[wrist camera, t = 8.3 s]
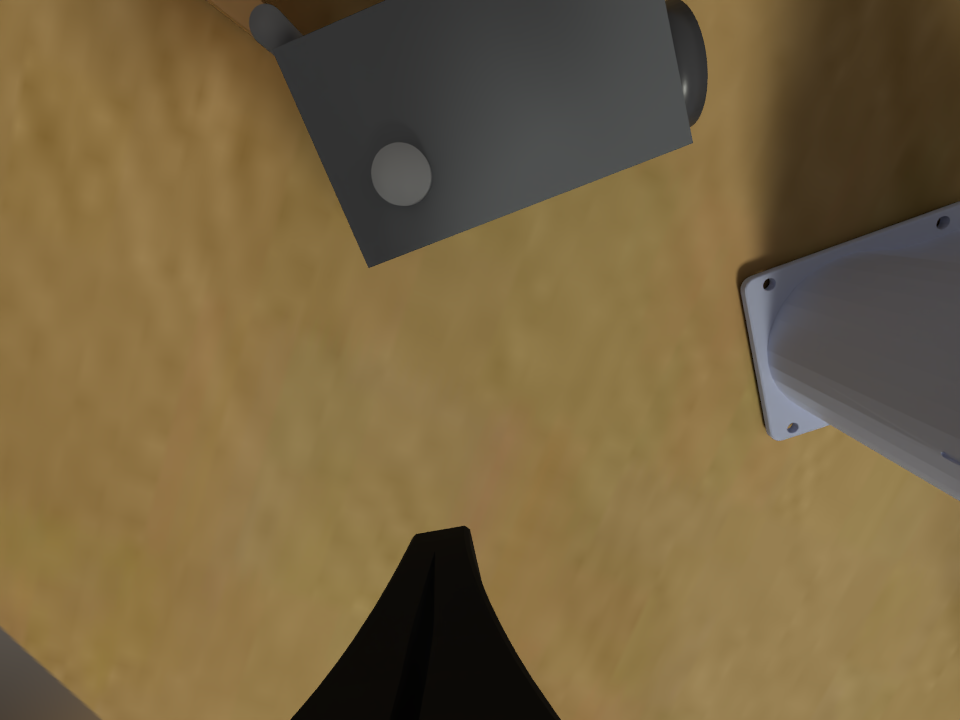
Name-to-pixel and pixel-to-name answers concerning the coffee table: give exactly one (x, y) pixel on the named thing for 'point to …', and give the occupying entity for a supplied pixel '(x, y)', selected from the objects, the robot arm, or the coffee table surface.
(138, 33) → the coffee table surface
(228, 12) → the side door
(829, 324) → the robot arm
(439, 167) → the camera body
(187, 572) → the coffee table surface
